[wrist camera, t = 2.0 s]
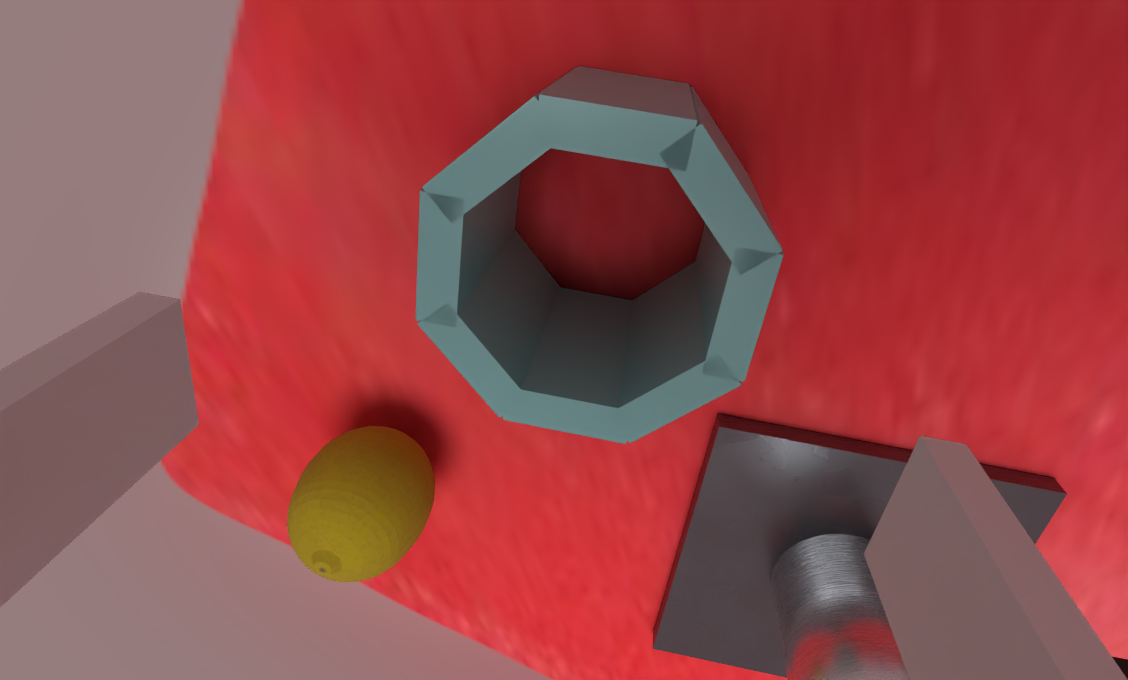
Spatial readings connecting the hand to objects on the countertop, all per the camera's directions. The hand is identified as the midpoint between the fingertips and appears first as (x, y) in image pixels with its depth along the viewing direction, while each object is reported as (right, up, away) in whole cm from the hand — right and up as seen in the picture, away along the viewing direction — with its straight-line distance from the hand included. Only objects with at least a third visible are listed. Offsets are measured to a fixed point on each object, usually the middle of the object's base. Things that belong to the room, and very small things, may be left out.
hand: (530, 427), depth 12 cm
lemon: (-7, -3, +20) cm, 21 cm away
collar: (+2, +7, +13) cm, 15 cm away
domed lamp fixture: (+13, -9, +19) cm, 25 cm away
